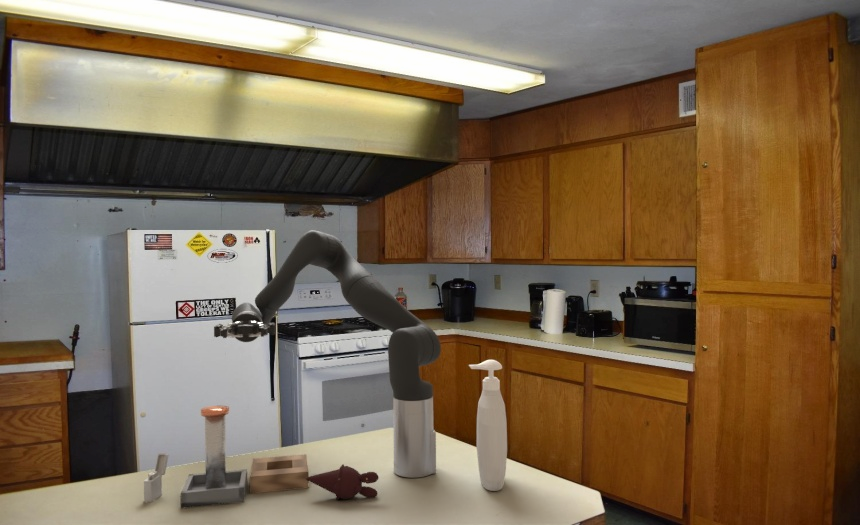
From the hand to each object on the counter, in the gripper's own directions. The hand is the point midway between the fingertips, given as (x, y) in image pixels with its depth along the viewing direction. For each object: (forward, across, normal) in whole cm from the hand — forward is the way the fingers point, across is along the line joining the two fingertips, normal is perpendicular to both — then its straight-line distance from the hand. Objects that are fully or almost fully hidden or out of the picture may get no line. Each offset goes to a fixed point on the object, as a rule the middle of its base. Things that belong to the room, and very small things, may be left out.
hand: (243, 332), depth 142 cm
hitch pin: (+15, -5, +31) cm, 35 cm away
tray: (+15, -5, +32) cm, 36 cm away
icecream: (+24, +21, +32) cm, 45 cm away
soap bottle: (+24, +52, +32) cm, 66 cm away
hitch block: (+10, +8, +32) cm, 34 cm away
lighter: (+12, -17, +32) cm, 38 cm away
